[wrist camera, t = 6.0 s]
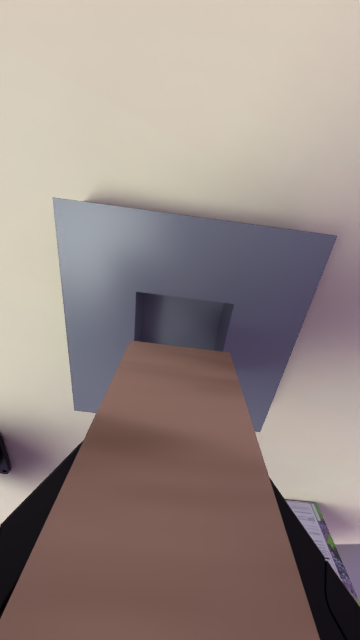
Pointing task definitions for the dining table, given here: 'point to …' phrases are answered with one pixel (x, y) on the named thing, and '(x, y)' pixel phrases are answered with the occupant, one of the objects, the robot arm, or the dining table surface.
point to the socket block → (182, 292)
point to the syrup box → (321, 538)
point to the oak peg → (164, 519)
